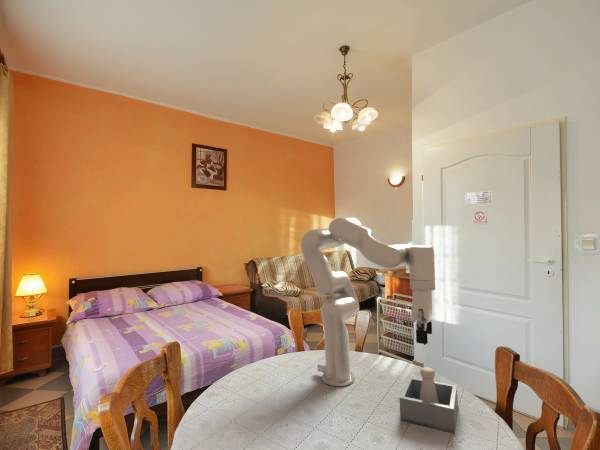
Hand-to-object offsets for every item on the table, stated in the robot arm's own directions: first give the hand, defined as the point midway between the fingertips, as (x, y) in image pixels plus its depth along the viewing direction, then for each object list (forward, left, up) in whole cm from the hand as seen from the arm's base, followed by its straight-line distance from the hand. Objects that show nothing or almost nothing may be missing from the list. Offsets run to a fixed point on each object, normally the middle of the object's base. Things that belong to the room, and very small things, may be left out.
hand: (424, 338), depth 103 cm
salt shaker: (+1, -1, -23) cm, 23 cm away
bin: (+1, -1, -23) cm, 23 cm away
